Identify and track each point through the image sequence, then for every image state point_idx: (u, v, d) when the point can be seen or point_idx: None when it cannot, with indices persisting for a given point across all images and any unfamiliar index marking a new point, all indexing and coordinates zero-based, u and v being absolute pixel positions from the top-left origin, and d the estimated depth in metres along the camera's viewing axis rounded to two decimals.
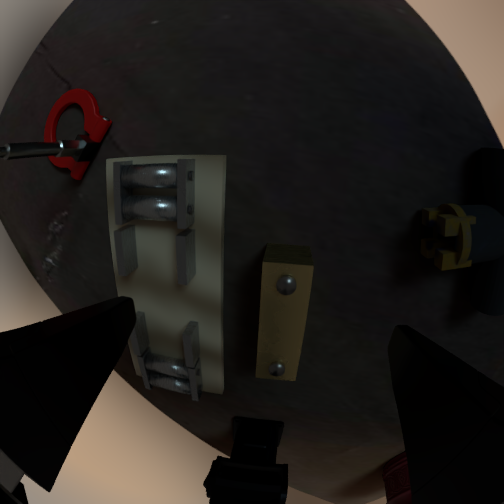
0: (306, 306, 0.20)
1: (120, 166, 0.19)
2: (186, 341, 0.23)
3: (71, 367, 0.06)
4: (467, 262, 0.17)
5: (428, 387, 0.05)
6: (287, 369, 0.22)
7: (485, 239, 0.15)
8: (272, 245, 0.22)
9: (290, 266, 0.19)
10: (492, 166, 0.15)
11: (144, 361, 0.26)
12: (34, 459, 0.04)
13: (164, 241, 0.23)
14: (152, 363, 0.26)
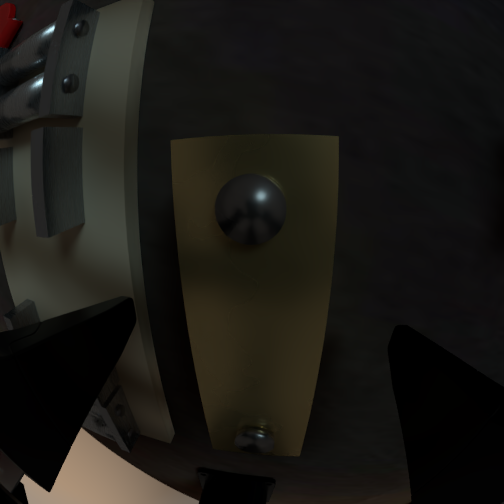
0: (325, 284, 0.06)
1: None
2: None
3: (71, 367, 0.06)
4: None
5: (428, 387, 0.05)
6: (280, 439, 0.08)
7: None
8: None
9: (259, 143, 0.05)
10: None
11: None
12: (34, 458, 0.04)
13: None
14: None
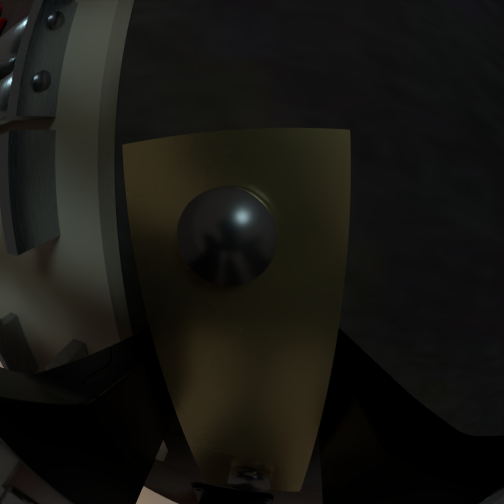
0: (331, 329, 0.04)
1: None
2: None
3: (153, 396, 0.05)
4: None
5: (334, 392, 0.05)
6: (277, 478, 0.07)
7: None
8: None
9: (237, 141, 0.04)
10: None
11: None
12: None
13: None
14: None
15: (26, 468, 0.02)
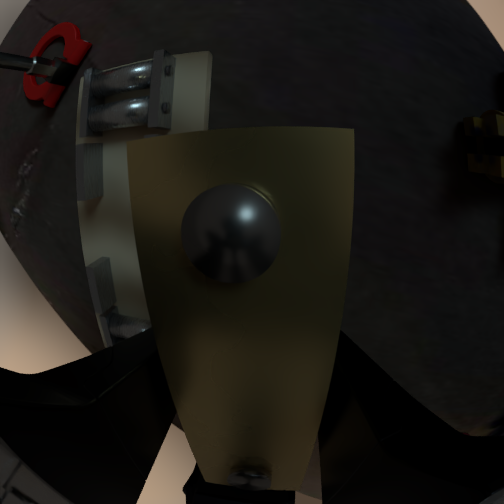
0: (333, 327, 0.04)
1: (91, 72, 0.13)
2: None
3: (154, 396, 0.05)
4: None
5: (334, 391, 0.06)
6: (277, 477, 0.07)
7: None
8: None
9: (242, 139, 0.04)
10: None
11: (108, 323, 0.20)
12: None
13: None
14: (117, 325, 0.20)
15: (26, 468, 0.02)
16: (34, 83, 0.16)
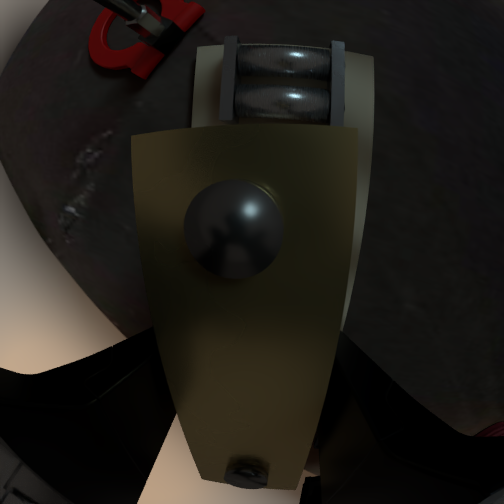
0: (334, 325, 0.04)
1: (237, 41, 0.12)
2: None
3: (154, 396, 0.05)
4: None
5: (333, 391, 0.06)
6: (273, 476, 0.07)
7: None
8: None
9: (246, 136, 0.04)
10: None
11: None
12: None
13: None
14: None
15: (27, 469, 0.02)
16: (108, 48, 0.14)
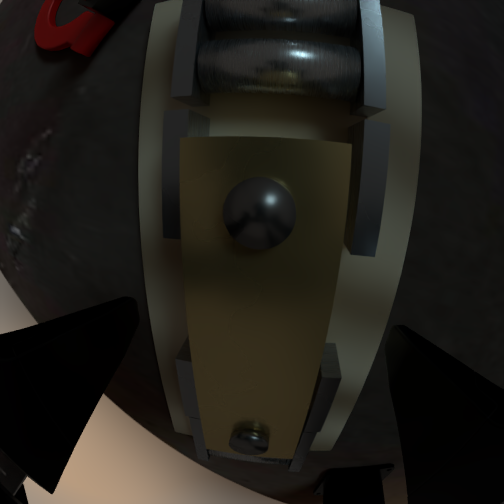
0: (330, 291, 0.06)
1: None
2: (325, 390, 0.10)
3: (74, 368, 0.06)
4: None
5: (424, 388, 0.05)
6: (273, 442, 0.08)
7: None
8: None
9: (271, 146, 0.05)
10: None
11: None
12: (37, 461, 0.04)
13: None
14: None
15: None
16: (54, 26, 0.08)
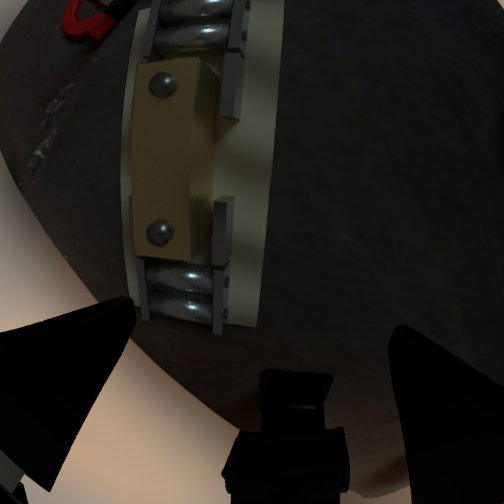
0: (190, 114, 0.12)
1: None
2: (218, 214, 0.16)
3: (71, 367, 0.06)
4: None
5: (428, 387, 0.05)
6: (174, 235, 0.15)
7: None
8: None
9: (168, 62, 0.11)
10: None
11: (145, 267, 0.19)
12: (34, 458, 0.04)
13: None
14: (157, 270, 0.19)
15: None
16: (77, 20, 0.14)
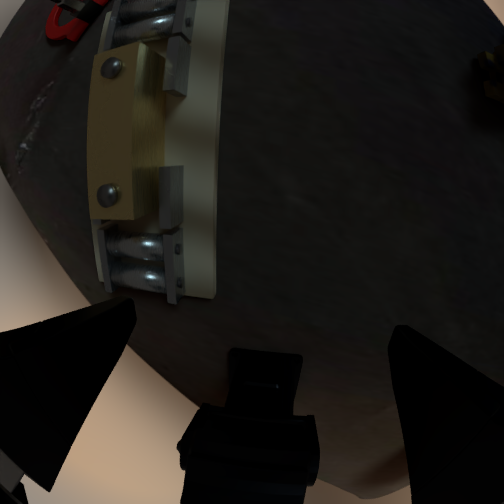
0: (132, 88, 0.12)
1: (121, 0, 0.12)
2: (163, 178, 0.16)
3: (71, 367, 0.06)
4: None
5: (428, 387, 0.05)
6: (120, 196, 0.15)
7: None
8: None
9: (117, 49, 0.12)
10: None
11: (105, 237, 0.19)
12: (34, 458, 0.04)
13: None
14: (115, 239, 0.19)
15: None
16: (57, 26, 0.15)
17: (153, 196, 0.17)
